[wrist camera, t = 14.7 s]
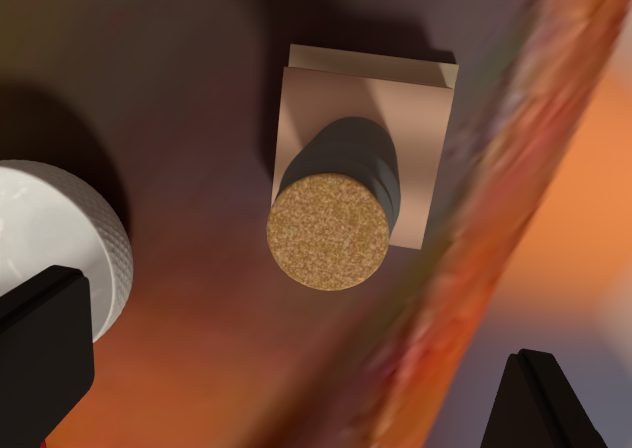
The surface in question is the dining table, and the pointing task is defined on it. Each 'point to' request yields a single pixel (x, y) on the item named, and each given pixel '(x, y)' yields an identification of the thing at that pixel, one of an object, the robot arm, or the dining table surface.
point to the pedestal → (371, 117)
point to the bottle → (337, 206)
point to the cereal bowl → (62, 235)
